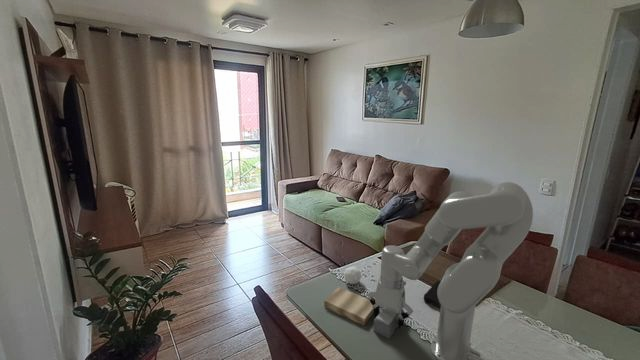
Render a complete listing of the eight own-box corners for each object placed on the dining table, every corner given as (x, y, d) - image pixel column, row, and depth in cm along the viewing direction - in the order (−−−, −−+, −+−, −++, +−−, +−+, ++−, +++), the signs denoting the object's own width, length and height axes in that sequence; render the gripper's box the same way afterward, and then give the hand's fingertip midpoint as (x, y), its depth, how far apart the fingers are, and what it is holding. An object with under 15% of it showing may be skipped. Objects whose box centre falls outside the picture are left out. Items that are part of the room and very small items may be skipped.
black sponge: (442, 311, 115) (443, 303, 114) (421, 302, 120) (422, 294, 120) (456, 293, 126) (457, 285, 126) (436, 285, 132) (437, 278, 131)
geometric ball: (356, 288, 134) (365, 280, 129) (341, 285, 131) (349, 277, 126) (355, 273, 139) (363, 265, 134) (340, 269, 137) (348, 261, 132)
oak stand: (376, 309, 116) (377, 302, 115) (364, 325, 107) (364, 318, 106) (338, 293, 126) (338, 287, 125) (324, 307, 117) (324, 300, 117)
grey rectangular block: (401, 319, 111) (402, 306, 109) (388, 339, 101) (389, 325, 100) (387, 313, 114) (388, 300, 113) (373, 331, 105) (374, 317, 103)
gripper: (418, 283, 101) (414, 325, 105) (373, 267, 111) (371, 306, 115) (411, 294, 95) (407, 338, 99) (364, 276, 105) (362, 317, 109)
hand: (388, 321), depth 107 cm, fingers open, 8 cm apart
